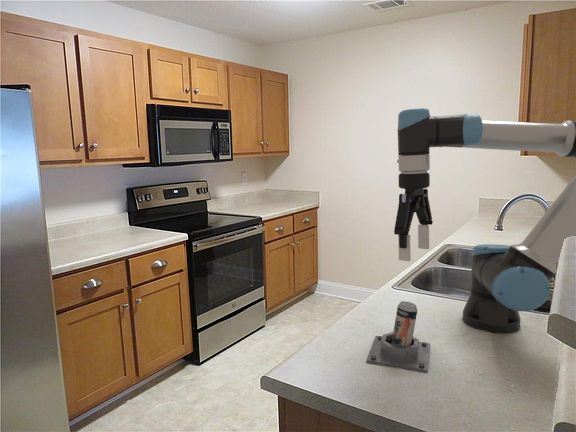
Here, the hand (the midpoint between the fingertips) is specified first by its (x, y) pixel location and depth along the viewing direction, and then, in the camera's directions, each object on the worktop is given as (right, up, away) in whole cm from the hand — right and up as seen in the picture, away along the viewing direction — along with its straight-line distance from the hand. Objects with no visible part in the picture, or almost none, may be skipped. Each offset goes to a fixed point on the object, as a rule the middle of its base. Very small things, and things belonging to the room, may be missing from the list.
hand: (414, 254), depth 107 cm
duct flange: (-5, -25, -4) cm, 25 cm away
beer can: (-5, -24, -4) cm, 25 cm away
